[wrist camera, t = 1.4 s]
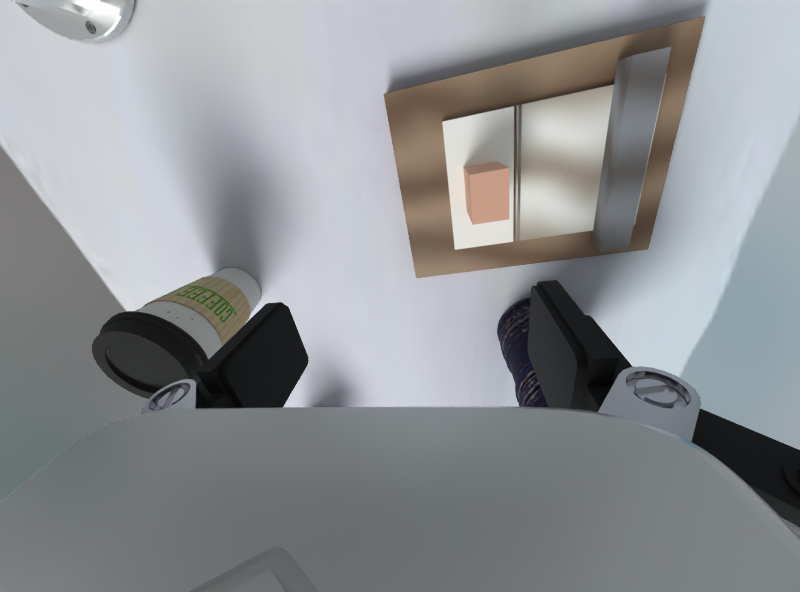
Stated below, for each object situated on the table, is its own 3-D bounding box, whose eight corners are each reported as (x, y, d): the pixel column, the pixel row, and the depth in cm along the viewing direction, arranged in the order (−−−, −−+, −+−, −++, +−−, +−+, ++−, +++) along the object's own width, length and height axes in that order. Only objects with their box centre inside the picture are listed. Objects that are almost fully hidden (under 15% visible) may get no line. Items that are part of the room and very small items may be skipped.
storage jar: (486, 310, 37) (516, 408, 24) (568, 283, 34) (652, 378, 21) (508, 364, 41) (543, 473, 28) (583, 344, 38) (660, 455, 25)
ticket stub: (442, 121, 26) (444, 120, 21) (512, 106, 25) (531, 101, 20) (454, 248, 31) (458, 269, 27) (512, 240, 30) (527, 260, 26)
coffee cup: (247, 244, 35) (141, 312, 22) (288, 309, 40) (218, 397, 27) (186, 266, 38) (58, 338, 25) (231, 325, 42) (142, 412, 29)
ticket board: (386, 95, 26) (379, 90, 23) (689, 22, 22) (735, 3, 19) (416, 272, 35) (415, 287, 32) (638, 243, 31) (664, 258, 27)
